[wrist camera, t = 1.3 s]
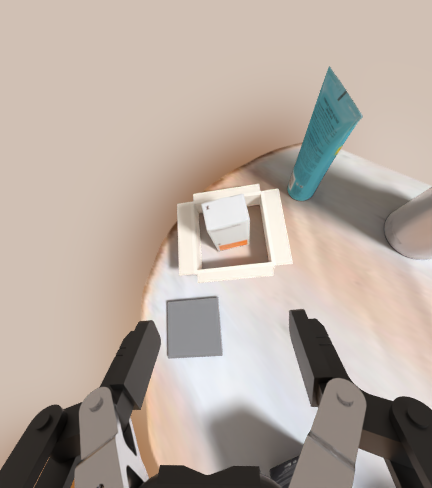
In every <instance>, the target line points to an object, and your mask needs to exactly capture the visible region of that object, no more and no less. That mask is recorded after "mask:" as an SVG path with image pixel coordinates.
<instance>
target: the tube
mask: <svg viewBox="0 0 432 488" xmlns="http://www.w3.org/2000/svg"><path fill="white" fill-rule="evenodd" d="M362 117H363V116H362V114H361V113H360V111H359V110H358V108H357V107H356V105H355V103H354V102H353V100H352V99H351V97H350V96H349V94H348V93H347V91H346V89H345V88H344V86H343V85H342V83H341V82H340V80H339V79H338V78H337V76H336V75H335V74H334V72H333V71H332V69H331V67H329V68H328V71H327V73H326V76H325V79H324V82H323V85H322V88H321V90H320V93H319V96H318V99H317V102H316V105H315V108H314V111H313V114H312V117H311V120H310V123H309V125H308V128H307V131H306V134H305V137H304V140H303V143H302V146H301V149H300V152H299V155H298V158H297V161H296V164H295V167H294V170H293V172H292V175H291V178H290V181H289V184H288V189H287V190H288V193H289V195H290V196H291V197H292V198H293V199H295V200H298V201H304V200H307V199H309V198H311V197H312V196H313V194H314V192H315V191H316V189H317V187H318V185H319V183H320V182H321V180H322V178H323V177H324V175H325V173H326V172H327V170H328V168H329V167H330V165H331V163H332V162H333V160H334V158H335V157H336V155H337V154H338V152H339V150H340V149H341V147H342V146H343V144H344V142H345V141H346V139H347V138H348V136H349V135H350V133H351V132H352V130H353V129H354V127H355V126H356V125H357V123H358V121H359V120H360V119H361V118H362Z"/></svg>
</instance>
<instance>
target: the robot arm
mask: <svg viewBox="0 0 432 488" xmlns="http://www.w3.org/2000/svg"><path fill="white" fill-rule="evenodd" d="M384 231H385V236H386V238H387V240H388V242H389V243H390V245H391V246H392V247H393V248H394V249H395V250H396V251H398V252H399V253H401V254H402V255H404V256H407V257H409V258H413V259H418V260H427V259H432V187H431V188H429V189H428V190H426V191H425V192H423V193H422V194H420V195H419V196H417V197H416V198H414V199H412V200H411V201H409V202H408V203H406V204H405V205H403V206H401V207H400V208H398V209H397V210H395V211H394V212H392V213H391V214H390V215H389V216H388V218H387V220H386V222H385V228H384ZM289 331H290V337H291V341H292V344H293V348H294V351H295V354H296V358H297V361H298V364H299V368H300V371H301V374H302V378H303V381H304V384H305V388H306V391H307V394H308V397H309V401H310V404H311V407H318V411H317V414H316V417H315V419H314V422H313V425H312V428H311V430H310V432H309V433H308V435H307V437H306V440H305V443H304V445H303V448H302V451H301V454H300V457H299V460H298V462H297V465H296V468H295V471H294V474H293V476H292V479H291V482H290V485H289V488H352V485H353V479H354V473H355V462H356V457H357V452H358V448H359V449H362V450H365V451H367V452H370V453H372V454H375V455H378V456H380V457H383V458H384V460H385V462H386V465H387V467H388V469H389V472H390V474H391V476H392V479H393V481H394V483H395V486H396V488H432V410H431V409H430V408H429V407H428V406H426V405H425V404H424V403H422V402H420V401H418V400H416V399H414V398H411V397H405V396H402V397H398V398H396V399H395V400H394V401H391V400H387V399H384V398H380V397H377V396H373V395H371V394H368V393H366V392H364V391H363V390H361V389H360V388H358V387H357V386H356V385H355V384H354V383H353V382H352V381H351V379H350V378H349V376H348V375H347V373H346V371H345V369H344V367H343V364H342V362H341V360H340V358H339V356H338V354H337V352H336V350H335V348H334V346H333V345H332V342H331V340H330V338H329V337H328V334H327V332H326V330H325V328H324V326H323V325H322V324H321V323H320V322H319V321H318V320H317V319H308V317H307V315H306V312H305V310H304V309H298V310H290V311H289ZM160 345H161V339H160V335H159V333H158V331H157V328H156V326H155V324H154V322H153V321H152V320H150V321H140V322H138V324H137V326H136V328H135V330H134V331H131V332H130V333H129V334H128V335H127V336H126V337H125V338H124V340H123V342H122V344H121V346H120V349H119V350H118V352H117V354H116V357H115V358H114V360H113V362H112V364H111V366H110V368H109V370H108V372H107V374H106V376H105V378H104V380H103V382H102V384H101V386H100V387H99V388H97V389H95V390H94V391H92V392H91V393H90V394H89V395H88V396H87V397H86V398H85V399H84V401H83V402H81V403H79V404H76V405H74V406H71V407H68V408H66V409H62V408H61V407H60V406H59V405H51V406H49V407H47V408H45V409H43V410H42V411H41V412H40V413H39V414H37V415H36V416H35V418H34V419H33V420H32V421H31V423H30V424H29V426H28V427H27V429H26V431H25V432H24V434H23V435H22V437H21V438H20V440H19V442H18V443H17V445H16V446H15V448H14V450H13V451H12V453H11V454H10V456H9V457H8V459H7V461H6V462H5V464H4V465H3V467H2V469H1V470H0V488H33V487H34V485H35V483H36V481H37V479H38V477H39V475H40V473H41V472H42V473H41V475H40V477H39V479H38V481H37V483H36V485H35V487H34V488H70V487H71V485H72V482H73V480H74V477H75V488H282V487H281V486H280V485H279V484H277V483H276V482H275V481H274V480H272V479H270V478H269V477H267V476H265V475H262V474H260V468H259V466H233V467H230V468H227V469H225V470H222V471H219V472H216V473H214V474H211V475H204V474H202V473H200V472H197V471H195V470H193V469H190V468H188V467H186V466H183V465H160V468H159V473H158V474H156V475H155V476H153V477H151V478H150V479H149V478H148V475H147V472H146V469H145V467H144V465H143V463H142V460H141V457H140V453H139V450H138V445H137V442H136V437H135V434H134V429H133V425H132V422H131V418H130V416H131V413H132V410H141V407H142V403H143V400H144V397H145V394H146V391H147V387H148V384H149V381H150V378H151V375H152V372H153V368H154V365H155V362H156V359H157V356H158V352H159V349H160ZM49 457H50V458H49ZM48 458H49V460H48ZM47 460H48V461H47ZM46 462H47V463H46ZM45 464H46V465H45ZM44 466H45V467H44ZM43 468H44V469H43ZM42 470H43V471H42Z"/></svg>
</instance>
